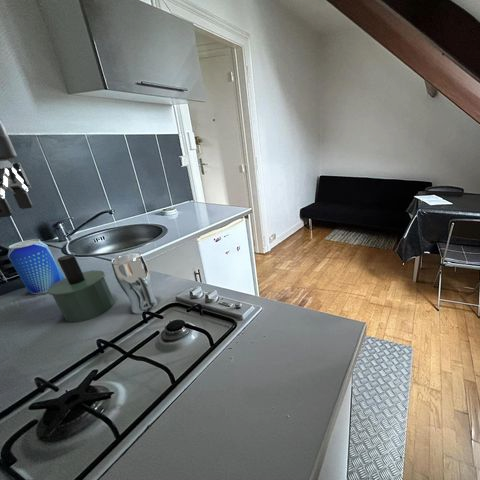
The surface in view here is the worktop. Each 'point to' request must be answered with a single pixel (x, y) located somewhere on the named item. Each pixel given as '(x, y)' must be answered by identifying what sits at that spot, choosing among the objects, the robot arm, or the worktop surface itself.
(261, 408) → the worktop surface
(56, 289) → the tin lid
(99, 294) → the tin
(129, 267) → the beer glass
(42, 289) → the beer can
